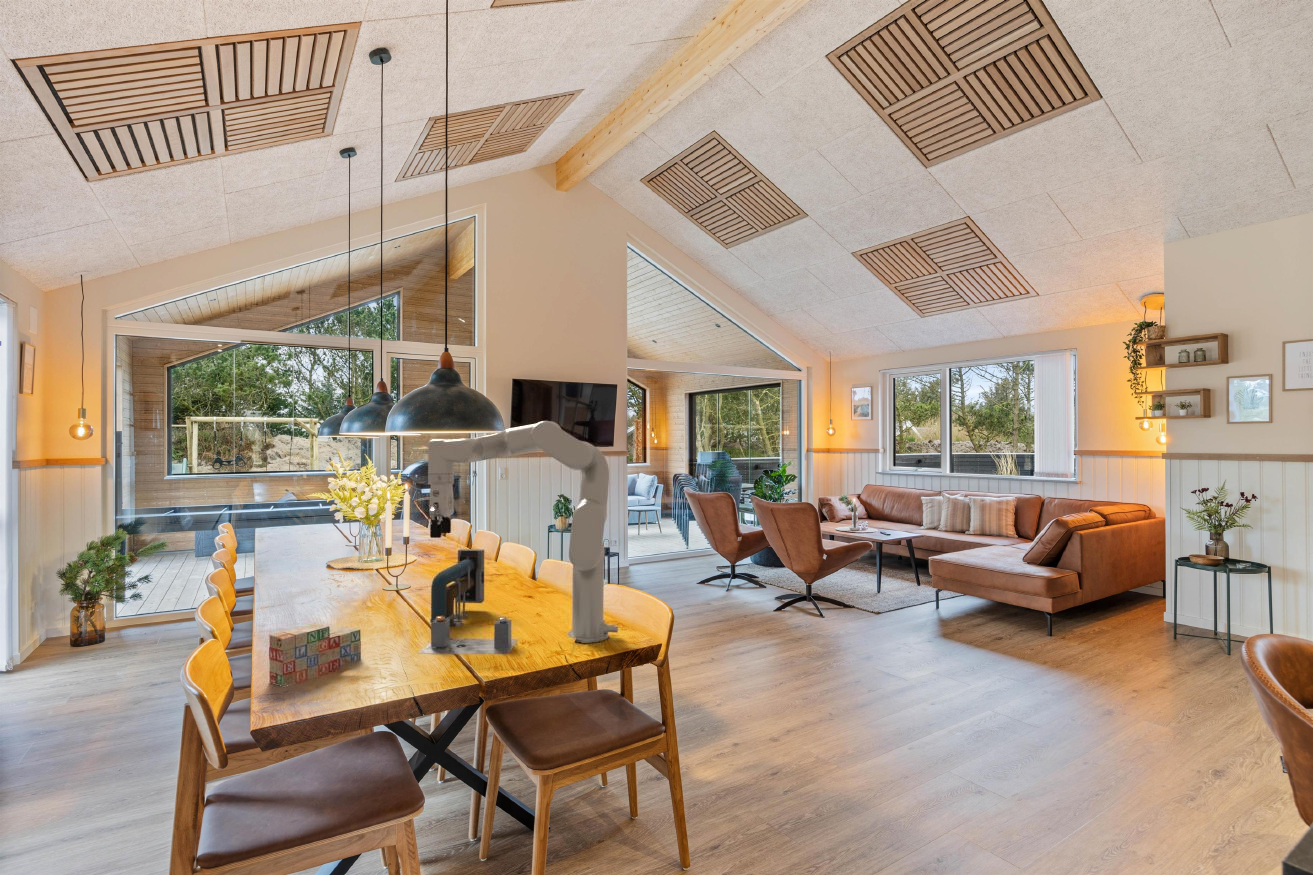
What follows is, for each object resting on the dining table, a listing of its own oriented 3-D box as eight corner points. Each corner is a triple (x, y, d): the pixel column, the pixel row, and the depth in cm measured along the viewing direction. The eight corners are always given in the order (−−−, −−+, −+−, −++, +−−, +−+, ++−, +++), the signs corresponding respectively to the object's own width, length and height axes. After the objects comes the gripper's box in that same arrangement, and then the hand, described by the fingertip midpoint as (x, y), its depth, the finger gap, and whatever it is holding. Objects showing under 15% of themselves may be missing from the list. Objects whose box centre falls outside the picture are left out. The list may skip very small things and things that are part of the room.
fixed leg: (511, 644, 198) (511, 616, 198) (508, 648, 194) (508, 620, 194) (497, 643, 198) (497, 616, 198) (494, 648, 194) (494, 620, 194)
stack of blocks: (347, 659, 188) (347, 614, 188) (361, 663, 185) (361, 618, 185) (268, 683, 170) (268, 633, 170) (282, 688, 167) (282, 637, 167)
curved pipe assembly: (445, 638, 207) (446, 568, 207) (418, 637, 208) (418, 567, 208) (484, 609, 242) (484, 549, 242) (460, 609, 243) (460, 549, 243)
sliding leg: (449, 642, 198) (449, 615, 198) (445, 646, 194) (445, 618, 194) (435, 642, 198) (435, 615, 198) (431, 646, 194) (431, 618, 194)
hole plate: (518, 642, 203) (518, 638, 203) (507, 658, 189) (507, 653, 189) (434, 642, 203) (434, 638, 203) (417, 657, 189) (417, 653, 189)
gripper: (445, 481, 200) (444, 539, 200) (461, 477, 218) (460, 531, 218) (419, 481, 200) (419, 539, 200) (437, 477, 218) (437, 531, 218)
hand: (440, 535), depth 209 cm, fingers open, 9 cm apart
